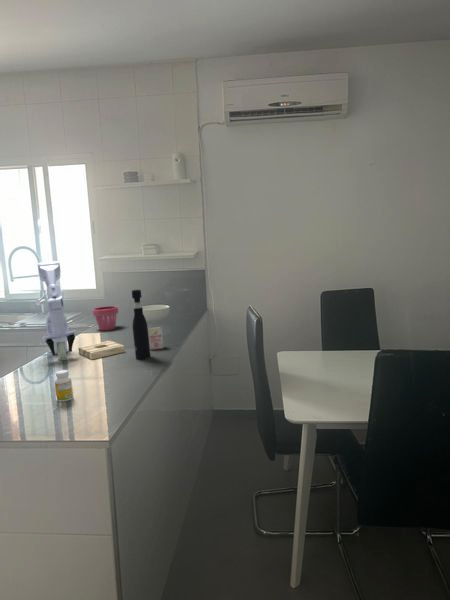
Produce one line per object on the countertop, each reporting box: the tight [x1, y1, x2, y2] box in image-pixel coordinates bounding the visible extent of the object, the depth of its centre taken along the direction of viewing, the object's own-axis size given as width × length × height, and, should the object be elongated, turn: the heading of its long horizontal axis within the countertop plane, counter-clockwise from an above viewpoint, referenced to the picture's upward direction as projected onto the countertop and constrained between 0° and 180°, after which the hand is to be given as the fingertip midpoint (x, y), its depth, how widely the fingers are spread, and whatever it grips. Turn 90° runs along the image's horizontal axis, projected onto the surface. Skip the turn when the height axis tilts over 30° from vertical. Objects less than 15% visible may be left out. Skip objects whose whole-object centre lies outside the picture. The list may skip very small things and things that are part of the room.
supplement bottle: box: [54, 369, 74, 403], centre depth 159 cm, size 5×5×10 cm
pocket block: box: [77, 340, 125, 360], centre depth 220 cm, size 16×16×3 cm
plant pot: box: [92, 305, 119, 331], centre depth 276 cm, size 14×14×13 cm
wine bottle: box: [131, 289, 152, 361], centre depth 204 cm, size 6×6×30 cm
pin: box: [57, 341, 68, 361], centre depth 213 cm, size 4×4×8 cm
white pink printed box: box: [148, 326, 165, 351], centre depth 220 cm, size 4×7×10 cm, turn 98°
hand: (62, 353), depth 213 cm, fingers open, 7 cm apart
